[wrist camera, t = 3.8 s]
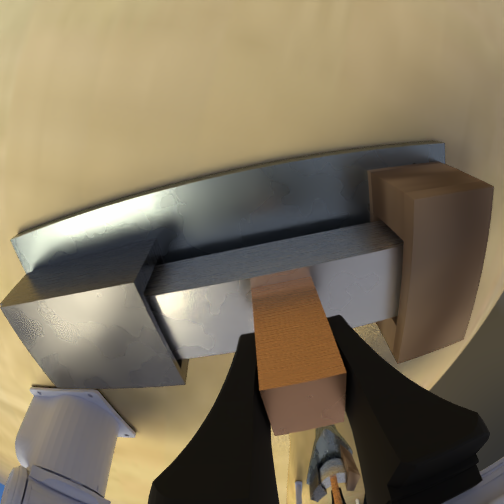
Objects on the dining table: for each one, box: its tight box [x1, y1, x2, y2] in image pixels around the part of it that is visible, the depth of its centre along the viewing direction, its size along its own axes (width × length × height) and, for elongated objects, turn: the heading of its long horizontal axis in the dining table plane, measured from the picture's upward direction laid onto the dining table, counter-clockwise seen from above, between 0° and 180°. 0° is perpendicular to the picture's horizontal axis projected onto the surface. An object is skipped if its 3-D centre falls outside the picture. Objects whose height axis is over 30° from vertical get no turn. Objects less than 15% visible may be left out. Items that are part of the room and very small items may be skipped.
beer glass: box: [286, 412, 367, 504], centre depth 16 cm, size 7×7×15 cm
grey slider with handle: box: [143, 220, 404, 436], centre depth 12 cm, size 16×4×8 cm, turn 101°
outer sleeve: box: [0, 141, 445, 389], centre depth 15 cm, size 26×11×5 cm, turn 101°
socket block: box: [367, 161, 494, 364], centre depth 14 cm, size 4×9×5 cm, turn 11°
